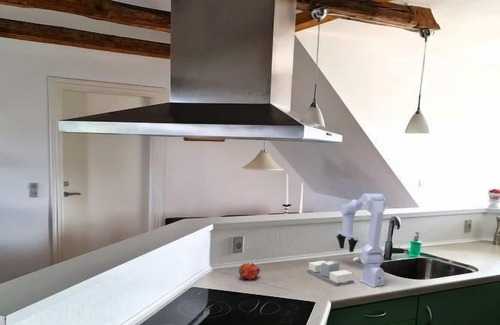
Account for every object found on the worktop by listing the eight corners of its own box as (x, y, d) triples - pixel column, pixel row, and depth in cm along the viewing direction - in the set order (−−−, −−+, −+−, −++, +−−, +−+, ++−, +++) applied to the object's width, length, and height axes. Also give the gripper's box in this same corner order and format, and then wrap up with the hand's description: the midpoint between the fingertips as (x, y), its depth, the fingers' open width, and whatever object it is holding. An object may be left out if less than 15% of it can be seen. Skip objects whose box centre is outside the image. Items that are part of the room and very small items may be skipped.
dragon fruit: (235, 282, 180) (257, 283, 185) (243, 277, 174) (265, 277, 179) (234, 265, 185) (255, 266, 190) (241, 259, 179) (263, 260, 184)
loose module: (338, 273, 190) (339, 262, 190) (328, 277, 184) (329, 265, 184) (331, 271, 193) (332, 259, 193) (321, 274, 187) (321, 263, 187)
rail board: (354, 282, 182) (354, 272, 182) (335, 286, 176) (335, 276, 176) (324, 269, 201) (325, 260, 201) (307, 271, 195) (307, 262, 195)
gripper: (362, 228, 201) (361, 252, 202) (344, 222, 214) (342, 246, 215) (352, 229, 198) (351, 254, 199) (334, 223, 211) (333, 247, 211)
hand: (346, 250), depth 206 cm, fingers open, 7 cm apart
